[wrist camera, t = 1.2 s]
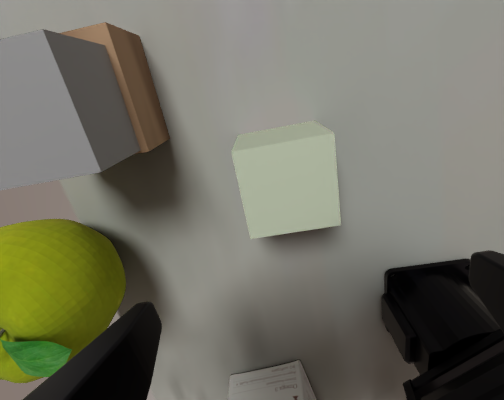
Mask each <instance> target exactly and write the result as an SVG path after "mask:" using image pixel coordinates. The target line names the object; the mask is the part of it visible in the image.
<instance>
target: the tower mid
mask: <svg viewBox="0 0 504 400" xmlns="http://www.w3.org/2000/svg"><path fill="white" fill-rule="evenodd" d="M140 150H141V149H140V146H139V143H138V140H137V137H136V134H135V131H134V128H133V125H132V123H131V120H130V117H129V114H128V111H127V108H126V105H125V102H124V99H123V96H122V93H121V90H120V87H119V85H118V82H117V79H116V76H115V73H114V70H113V67H112V64H111V61H110V58H109V55H108V52H107V49H106V47H105V45H102V44H98V43H95V42H91V41H87V40H83V39H79V38H75V37H71V36H67V35H63V34H59V33H55V32H51V31H48V30H44V29H42V30H37V31H33V32H29V33H25V34H20V35H16V36H12V37H8V38H3V39H0V190H5V189H10V188H16V187H22V186H27V185H32V184H38V183H44V182H49V181H54V180H60V179H66V178H71V177H77V176H83V175H88V174H94V173H99V172H102V171H104V170H106V169H108V168H110V167H111V166H113V165H115V164H117V163H119V162H120V161H122V160H124V159H126V158H128V157H129V156H131V155H133V154H135V153H137V152H138V151H140Z"/></svg>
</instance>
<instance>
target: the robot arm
mask: <svg viewBox="0 0 504 400" xmlns="http://www.w3.org/2000/svg"><path fill="white" fill-rule="evenodd" d="M394 274H395V275H394ZM392 275H394V276H392ZM382 319H383V321H384V323H385V327H386V329H387V331H388V332H390V334H391V336H392V338H393V340H394V342H395V344H396V346H397V348H398V349H399V351H400V353H401V355H402V357H403V359H404V361H406V362H407V363H408V364H410V363H414V365H415V366H416V368H417V370H418V372H419V374H420V376H418V377H416V378H415V379H413V380H408V381H406V382H404V383H403V386H404V390H405V393H406V396H407V397H406V398H407V400H504V254H501V253H498V252H494V251H482V252H476V253H473V254H472V256H471V260H470V259H461V260H453V261H446V262H438V263H430V264H423V265H415V266H408V267H400V268H393V269H389V270H387V271H386V273H385V294H383V296H382ZM161 329H162V324H161V320H160V318H159V316H158V314H157V311H156V309H155V307H154V305H153V303H151V302H143V303H138V304H136V305H135V306H133V307H132V308H131V309H130V310H129V311H128V312H126V313H125V314H124V315H123V316H122V317H120V318H119V319H118V320H117V321H116V322H114V323H113V324H112V325H111V326H110V327H109V328H107V329H106V330H105V331H104V332H103V333H101V334H100V335H99V336H98V337H97V338H95V339H94V340H93V341H92V342H91V343H89V344H88V345H87V346H86V347H85V348H83V349H82V350H81V351H80V352H79V353H77V354H76V355H75V356H74V357H73V358H72V359H70V360H69V361H68V362H67V363H66V364H64V365H63V366H62V367H61V368H60V369H58V370H57V371H56V372H55V373H54V374H52V375H51V376H50V377H49V378H48V379H47V380H45V381H44V382H43V383H42V384H41V385H39V386H38V387H37V388H36V389H35V390H34V391H32V392H31V393H30V394H29V395H27V396H26V397H25V398H24V399H23V400H146V399H147V395H148V392H149V388H150V385H151V381H152V376H153V371H154V366H155V361H156V356H157V351H158V345H159V340H160V335H161Z"/></svg>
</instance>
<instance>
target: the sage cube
mask: <svg viewBox="0 0 504 400" xmlns="http://www.w3.org/2000/svg"><path fill="white" fill-rule="evenodd" d="M231 153H232V158H233V162H234V167H235V171H236V176H237V180H238V185H239V189H240V194H241V198H242V203H243V208H244V212H245V217H246V221H247V226H248V230H249V235H250V239H254V238H261V237H267V236H274V235H280V234H287V233H294V232H300V231H307V230H313V229H320V228H326V227H333V226H339V225H341V218H340V205H339V191H338V177H337V164H336V150H335V137H334V133H333V132H332V131H330V130H329V129H327V128H326V127H324V126H322V125H321V124H319V123H318V122H316V121H310V122H304V123H299V124H294V125H288V126H283V127H278V128H273V129H267V130H262V131H257V132H251V133H246V134H241V135H238V137H237V139H236V142H235V144H234V146H233V149H232V151H231Z"/></svg>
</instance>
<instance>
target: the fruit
mask: <svg viewBox="0 0 504 400" xmlns="http://www.w3.org/2000/svg"><path fill="white" fill-rule="evenodd" d="M125 288H126V279H125V272H124V268H123V265H122V262H121V260H120V258H119V256H118V253H117V251H116V250H115V248H114V246H113V244H112V243H111V241H110V240H109V239H107V238H106V237H105V236H103V235H102V234H100V233H99V232H97V231H95V230H93V229H91V228H89V227H87V226H85V225H83V224H81V223H78V222H75V221H71V220H65V219H45V220H35V221H28V222H21V223H16V224H12V225H8V226H4V227H0V380H1V379H2V380H7V381H10V382H14V383H28V382H31V381H34V380H37V379H40V378H43V377H50V376H51V375H52V374H54V373H55V372H56V371H57V370H58V369H60V368H61V367H62V366H63V365H64V364H66V363H67V362H68V361H69V360H70V359H72V358H73V357H74V356H75V355H76V354H77V353H79V352H80V351H81V350H82V349H83V348H85V347H86V346H87V345H88V344H89V343H91V342H92V341H93V340H94V339H95V338H97V337H98V336H99V335H100V334H101V333H103V332H104V331H105V330H106V329H107V327H108V326H109V324H110V322H111V321H112V319H113V317H114V315H115V313H116V312H117V310H118V308H119V306H120V304H121V302H122V299H123V297H124V293H125Z"/></svg>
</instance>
